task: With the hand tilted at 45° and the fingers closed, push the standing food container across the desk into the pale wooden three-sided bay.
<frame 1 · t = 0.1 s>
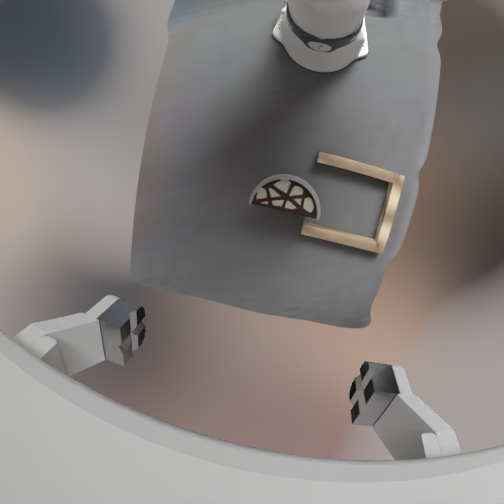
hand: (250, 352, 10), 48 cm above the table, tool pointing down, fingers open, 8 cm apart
food container: (289, 186, 54), on the table
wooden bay: (349, 201, 53), on the table
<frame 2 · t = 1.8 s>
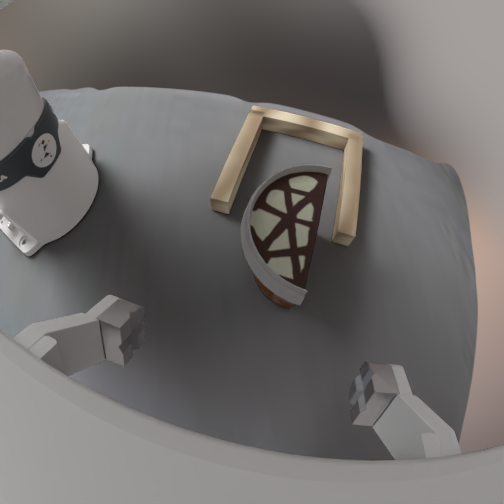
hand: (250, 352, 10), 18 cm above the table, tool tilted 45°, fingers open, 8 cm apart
food container: (271, 260, 31), on the table
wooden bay: (294, 174, 35), on the table
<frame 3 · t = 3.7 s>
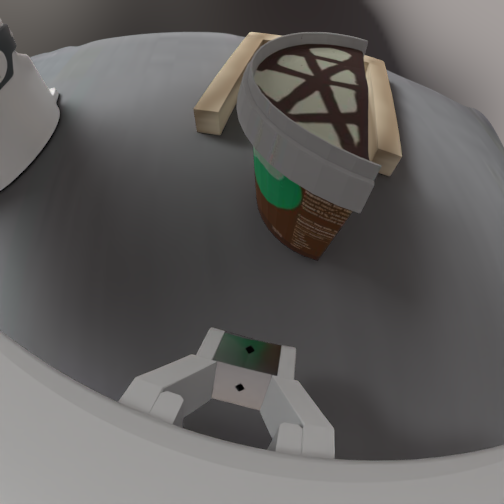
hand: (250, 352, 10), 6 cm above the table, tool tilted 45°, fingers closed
food container: (284, 190, 20), on the table
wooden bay: (306, 95, 24), on the table
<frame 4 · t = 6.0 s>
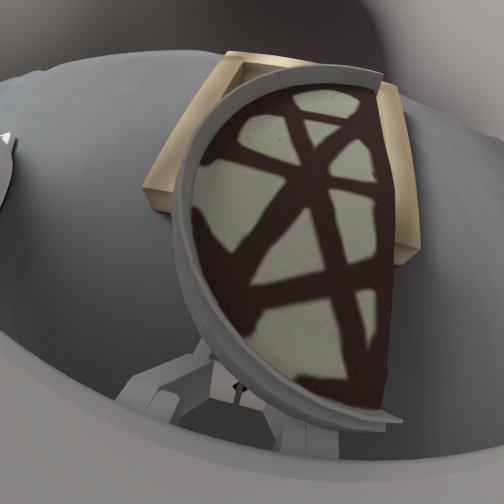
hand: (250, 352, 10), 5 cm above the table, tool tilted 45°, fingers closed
food container: (267, 284, 16), on the table, touching gripper
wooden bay: (297, 142, 20), on the table
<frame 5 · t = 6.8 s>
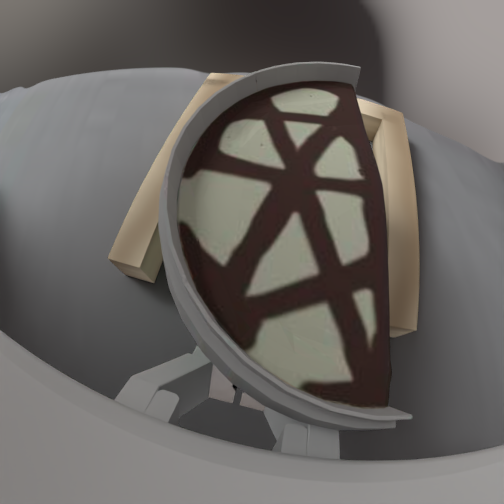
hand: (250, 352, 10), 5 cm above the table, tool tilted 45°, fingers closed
food container: (260, 287, 16), on the table, touching gripper
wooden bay: (286, 189, 18), on the table
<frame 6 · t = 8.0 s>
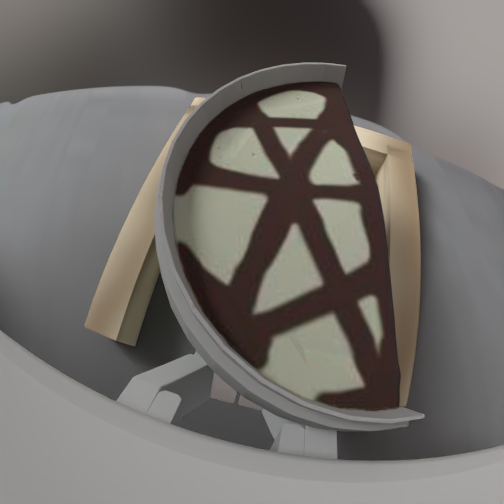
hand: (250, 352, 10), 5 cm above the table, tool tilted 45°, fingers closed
food container: (256, 292, 16), on the table, touching gripper
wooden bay: (276, 241, 17), on the table
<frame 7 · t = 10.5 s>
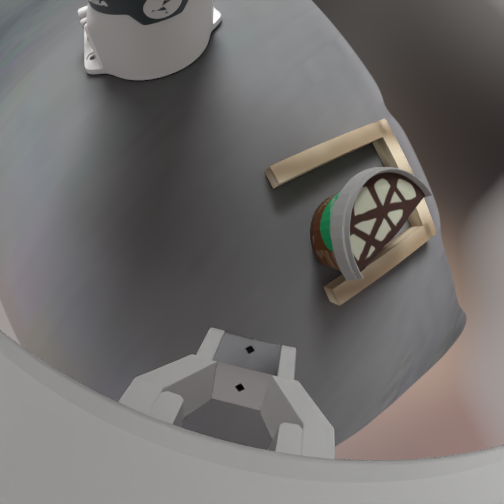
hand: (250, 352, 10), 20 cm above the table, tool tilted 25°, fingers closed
food container: (331, 215, 32), on the table
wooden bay: (354, 206, 32), on the table
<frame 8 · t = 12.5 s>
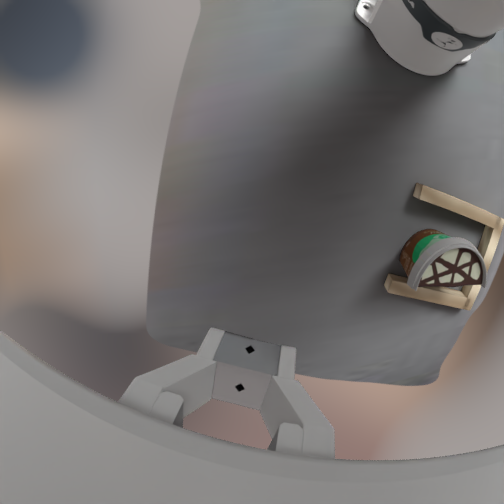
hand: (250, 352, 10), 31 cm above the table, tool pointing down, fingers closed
food container: (428, 240, 37), on the table
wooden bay: (443, 248, 37), on the table
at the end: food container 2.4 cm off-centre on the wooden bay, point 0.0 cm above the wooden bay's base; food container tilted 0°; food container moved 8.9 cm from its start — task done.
